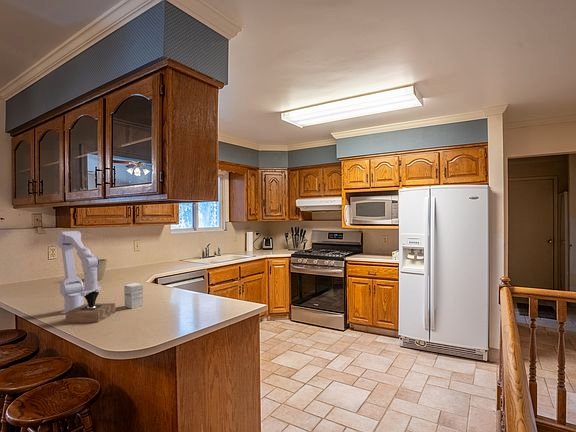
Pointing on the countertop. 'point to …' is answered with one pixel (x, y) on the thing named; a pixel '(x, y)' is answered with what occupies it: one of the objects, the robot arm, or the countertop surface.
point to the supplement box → (133, 295)
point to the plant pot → (101, 269)
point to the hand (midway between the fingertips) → (91, 306)
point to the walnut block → (90, 313)
